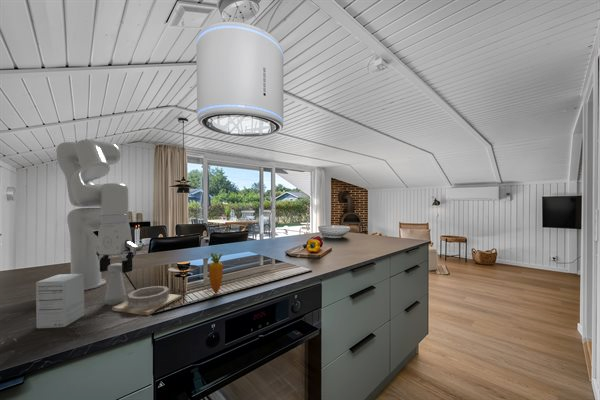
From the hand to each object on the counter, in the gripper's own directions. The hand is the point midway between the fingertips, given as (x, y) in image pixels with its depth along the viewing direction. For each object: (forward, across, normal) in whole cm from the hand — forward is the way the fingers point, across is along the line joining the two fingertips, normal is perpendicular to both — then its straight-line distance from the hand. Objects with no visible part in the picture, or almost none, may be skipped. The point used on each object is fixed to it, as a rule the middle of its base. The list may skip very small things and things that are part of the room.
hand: (116, 271), depth 85 cm
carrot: (+11, +27, +16) cm, 34 cm away
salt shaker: (+11, -1, 0) cm, 11 cm away
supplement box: (+11, -3, -14) cm, 18 cm away
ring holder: (+11, +11, +2) cm, 16 cm away
